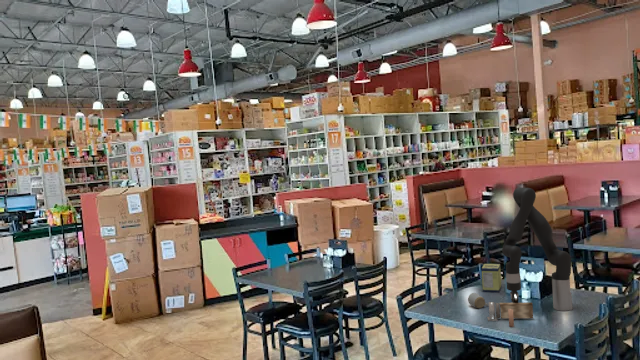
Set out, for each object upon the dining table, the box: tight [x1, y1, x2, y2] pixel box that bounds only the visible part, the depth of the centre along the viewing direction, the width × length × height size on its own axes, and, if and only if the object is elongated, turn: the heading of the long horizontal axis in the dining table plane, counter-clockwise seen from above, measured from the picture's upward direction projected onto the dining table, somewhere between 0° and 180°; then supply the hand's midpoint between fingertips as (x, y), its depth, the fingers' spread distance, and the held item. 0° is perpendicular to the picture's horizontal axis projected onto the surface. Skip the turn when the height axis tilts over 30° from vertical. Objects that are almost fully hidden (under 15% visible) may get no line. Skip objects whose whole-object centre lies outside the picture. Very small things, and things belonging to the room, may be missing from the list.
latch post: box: [508, 309, 515, 328], centre depth 276 cm, size 2×2×9 cm
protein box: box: [481, 263, 503, 293], centre depth 348 cm, size 10×16×16 cm
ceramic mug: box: [467, 292, 489, 309], centre depth 313 cm, size 11×8×8 cm
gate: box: [494, 301, 534, 319], centre depth 286 cm, size 19×2×8 cm, turn 77°
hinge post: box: [486, 301, 499, 322], centre depth 289 cm, size 5×5×10 cm
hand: (515, 311), depth 291 cm, fingers closed
